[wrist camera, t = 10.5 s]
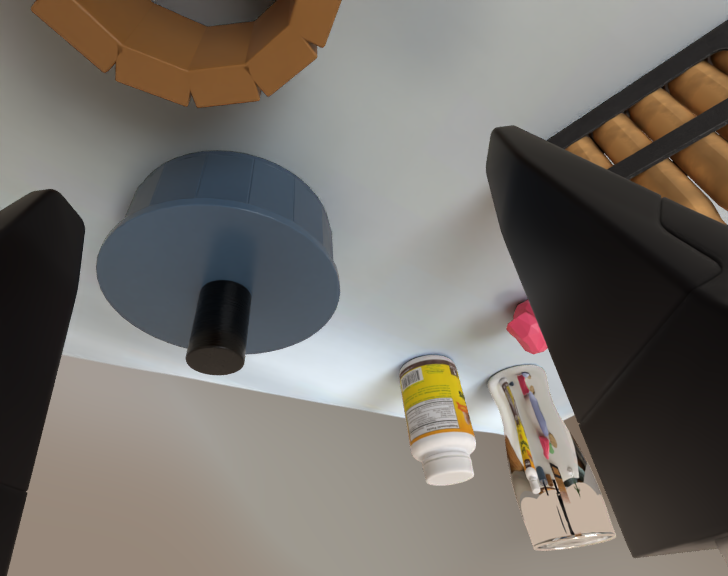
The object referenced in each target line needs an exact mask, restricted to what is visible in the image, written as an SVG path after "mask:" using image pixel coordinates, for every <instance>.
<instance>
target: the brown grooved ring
mask: <svg viewBox="0 0 728 576" xmlns="http://www.w3.org/2000/svg"><path fill="white" fill-rule="evenodd" d="M341 1H342V0H277V1H276V2H275V3H274V4H273V5H272V6H271V7H269V8H268V9H267V10H266V11H265V12H264V13H263V14H262V15H261V16H260V17H259V18H258V19H256V20H255V21H253V22H244V23H235V24H227V25H218V26H209V27H206V26H204V25H202V24H200V23H197V22H195V21H193V20H191V19H188V18H186V17H184V16H181V15H179V14H177V13H175V12H172V11H170V10H168V9H166V8H163V7H161V6H159V5H157V4H154V3H153V2H152V1H151V0H36V1H35V2H34V4H33V5H32V6H31V11H32V12H33V13H34V14H35V15H37V16H38V17H39V18H40V19H41V20H42V21H44V22H45V23H46V24H47V25H48V26H49V27H51V28H52V29H53V30H54V31H55V32H56V33H58V34H59V35H60V36H61V37H62V38H63V39H65V40H66V41H67V42H68V43H69V44H70V45H72V46H73V47H74V48H75V49H76V50H77V51H79V52H80V53H81V54H82V55H83V56H84V57H86V58H87V59H88V60H89V61H90V62H91V63H93V64H94V65H95V66H96V67H97V68H98V69H100V70H101V71H102V72H104V73H106V72H108V71H109V70H110V69H111V68H112V67H113V65H114V64H115V63H116V74H115V80H116V81H117V82H120V83H123V84H125V85H128V86H131V87H134V88H136V89H139V90H142V91H145V92H147V93H150V94H153V95H156V96H158V97H161V98H164V99H167V100H169V101H172V102H175V103H178V104H180V105H183V106H186V107H187V106H188V104H189V102H190V99H191V96H192V97H193V99H194V102H195V104H196V106H197V108H202V107H211V106H220V105H228V104H237V103H246V102H254V101H259V100H260V95H261V90H262V91H263V92H264V93H265V94H266V96H268V97H269V96H271V95H272V94H273V93H274V92H276V91H277V90H278V89H279V88H281V87H282V86H283V85H284V84H285V83H287V82H288V81H289V80H290V79H292V78H293V77H294V76H295V75H297V74H298V73H299V72H300V71H302V70H303V69H304V68H305V67H306V66H308V65H309V64H310V63H311V62H313V61H314V60H315V59H316V58H317V46H319V47H321V48H323V47H324V46H325V44H326V41H327V39H328V36H329V33H330V31H331V28H332V25H333V22H334V20H335V17H336V14H337V12H338V9H339V6H340V4H341Z"/></svg>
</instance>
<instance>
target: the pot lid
mask: <svg viewBox="0 0 728 576" xmlns="http://www.w3.org/2000/svg"><path fill="white" fill-rule="evenodd" d="M96 271H97V279H98V282H99V285H100V288H101V290H102V292H103V294H104V296H105V297H106V299H107V300H108V302H109V303H110V304H111V306H112V307H113V308H114V309H115V310H116V311H117V312H118V313H119V314H120V315H121V316H122V317H123V318H125V319H126V320H127V321H128V322H130V323H131V324H132V325H134V326H136V327H137V328H139V329H140V330H142V331H144V332H145V333H147V334H149V335H151V336H153V337H155V338H158V339H160V340H163V341H165V342H167V343H170V344H173V345H176V346H179V347H183V348H187V354H186V362H187V364H188V365H189V366H190V367H191V368H192V369H194V370H196V371H198V372H201V373H204V374H209V375H227V374H231V373H234V372H237V371H239V370H240V369H241V368H242V367H243V365H244V362H245V354H258V353H264V352H270V351H275V350H279V349H283V348H286V347H289V346H292V345H294V344H297V343H299V342H301V341H303V340H305V339H307V338H309V337H311V336H312V335H313V334H315V333H316V332H318V331H319V330H320V329H321V328H322V327H323V326H324V325H325V324H326V323H327V322H328V321H329V320H330V318H331V317H332V315H333V314H334V312H335V310H336V308H337V305H338V302H339V296H340V283H339V275H338V271H337V268H336V265H335V263H334V261H333V259H332V257H331V256H330V254H329V253H328V251H327V250H326V249H325V247H324V246H323V245H322V244H321V243H320V242H319V241H318V240H317V239H316V238H315V237H314V236H313V235H312V234H310V233H309V232H308V231H307V230H305V229H304V228H303V227H301V226H300V225H298V224H296V223H295V222H293V221H291V220H290V219H288V218H286V217H284V216H282V215H279V214H277V213H275V212H273V211H270V210H267V209H264V208H261V207H259V206H256V205H251V204H247V203H243V202H239V201H233V200H226V199H219V198H186V199H177V200H171V201H165V202H161V203H158V204H155V205H151V206H148V207H145V208H143V209H141V210H139V211H137V212H134V213H132V214H131V215H129V216H128V217H126V218H125V219H123V220H122V221H120V222H119V223H118V224H117V225H116V226H115V227H114V228H113V229H112V230H111V231H110V232H109V234H108V235H107V237H106V238H105V240H104V242H103V244H102V246H101V249H100V251H99V254H98V257H97V264H96Z"/></svg>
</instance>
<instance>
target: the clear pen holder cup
mask: <svg viewBox="0 0 728 576" xmlns="http://www.w3.org/2000/svg"><path fill="white" fill-rule="evenodd" d="M487 387H488V390H489V392H490V394H491V396H492V398H493V399H494V401H495V403H496V405H497V408H498V410H499V413H500V416H501V419H502V423H503V428H504V435H505V443H506V451H507V458H508V466H509V471H510V477H511V482H512V485H513V489H514V493H515V496H516V500H517V503H518V506H519V509H520V511H521V514H522V517H523V520H524V523H525V525H526V528H527V531H528V533H529V535H530V538H531V541H532V544H533V548H534V549H535V550H540V551H545V550H546V551H547V550H560V549H569V548H576V547H582V546H588V545H593V544H598V543H602V542H605V541H609V540H612V539H614V538H616V534H615V531H614V529H613V526H612V523H611V520H610V517H609V514H608V511H607V508H606V505H605V503H604V500H603V496H602V494H601V491H600V489H599V486H598V484H597V481H596V479H595V477H594V475H593V472H592V470H591V468H590V466H589V464H588V462H587V460H586V458H585V457H584V455H583V453H582V451H581V449H580V448H579V446H578V444H577V443H576V441H575V439H574V438H573V436H572V435H571V433H570V432H569V430H568V428H567V427H566V425H565V423H564V422H563V420H562V418H561V417H560V415H559V413H558V411H557V409H556V407H555V405H554V403H553V400H552V397H551V394H550V390H549V385H548V380H547V375H546V372H545V370H544V369H543V368H541V367H539V366H536V365H520V366H514V367H511V368H507V369H505V370H502V371H500V372H498V373H496V374H495V375H493V376H492V377H491V378H490V379H489V381H488V383H487Z"/></svg>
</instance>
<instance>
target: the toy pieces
mask: <svg viewBox="0 0 728 576" xmlns="http://www.w3.org/2000/svg"><path fill="white" fill-rule="evenodd" d="M513 319H514V320H513V321H511V322H510V323H508V326H507V329H506V330H507V331H508V332H509V333H510V334H511V335H512V336H514V337H515V338H516V339H517V341H518V342H519V343H520V344H521V346H522V347H523V348H524V350H525V351H527V352H529V353H532V354H536V353H540V352H544V351H545V350H546V349H547V348H548V347H547V345H546V342H545V340H544V337H543V335H542V332H541V330H540V327H539V325H538V322H537V320H536V318H535V315H534V313H533V310H532V308H531V305H530V303H529V300H526V301H525V302H523V303H521V304H518V305H517V308H516V310H515V313H514V315H513Z"/></svg>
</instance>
